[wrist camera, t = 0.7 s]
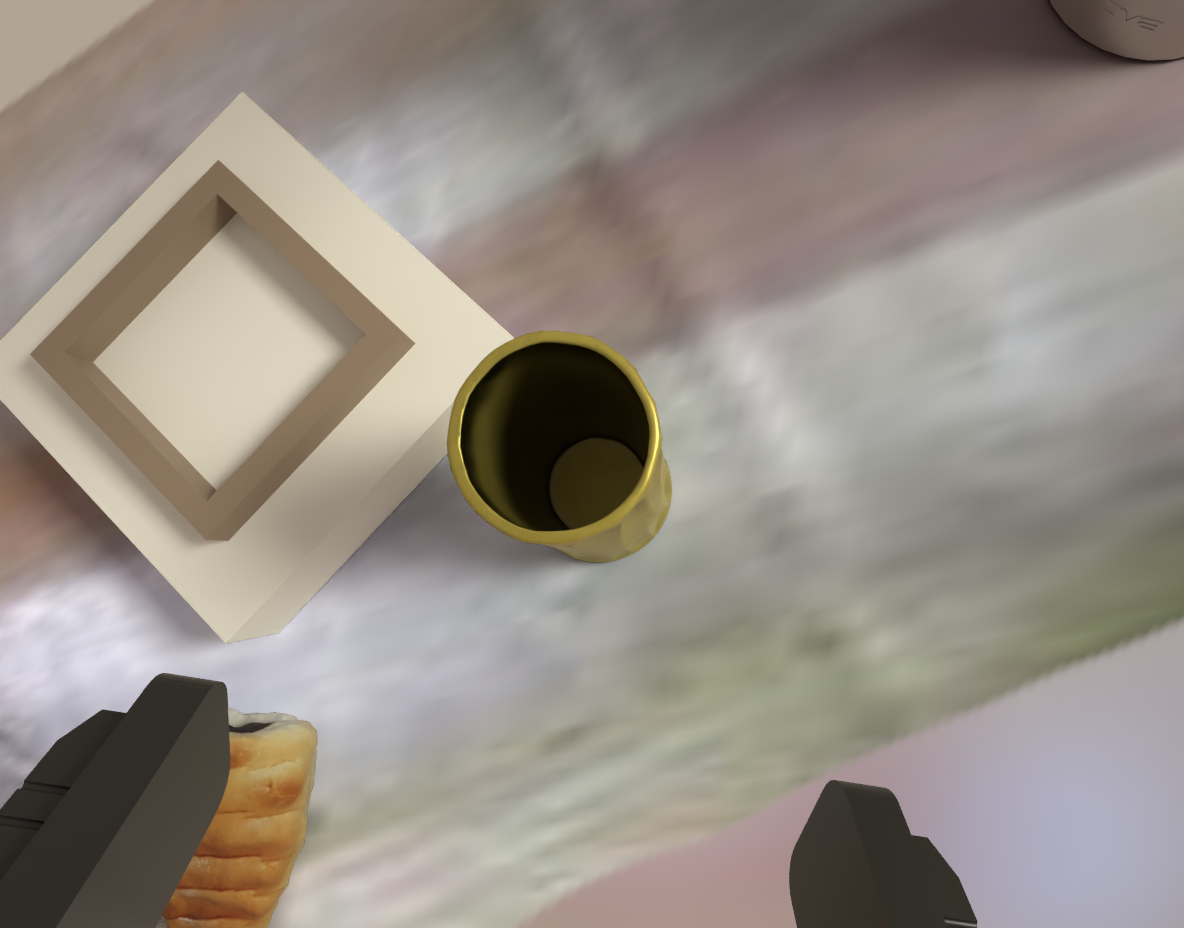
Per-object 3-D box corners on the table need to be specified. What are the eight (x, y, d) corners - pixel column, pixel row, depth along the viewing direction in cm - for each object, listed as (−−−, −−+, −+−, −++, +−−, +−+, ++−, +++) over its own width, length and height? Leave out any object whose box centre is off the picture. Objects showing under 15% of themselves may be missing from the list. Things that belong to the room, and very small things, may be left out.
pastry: (310, 944, 31) (261, 997, 27) (158, 928, 32) (89, 978, 28) (330, 709, 32) (286, 729, 28) (183, 699, 33) (120, 717, 29)
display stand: (288, 143, 35) (221, 67, 30) (531, 364, 33) (505, 325, 28) (50, 390, 35) (-63, 359, 29) (278, 633, 32) (201, 648, 27)
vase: (594, 390, 33) (543, 262, 18) (702, 483, 32) (734, 423, 18) (500, 496, 32) (376, 447, 18) (605, 592, 31) (561, 619, 17)
